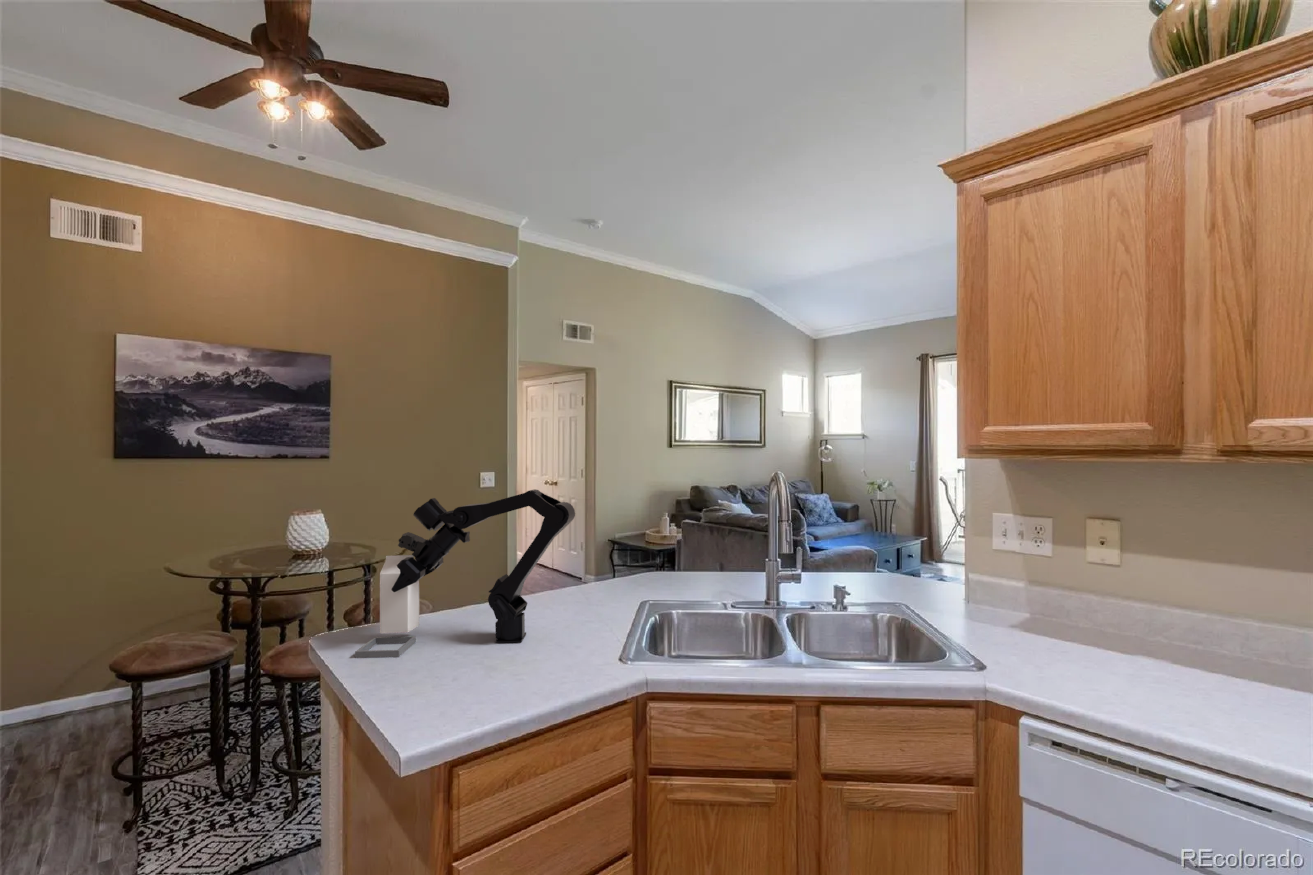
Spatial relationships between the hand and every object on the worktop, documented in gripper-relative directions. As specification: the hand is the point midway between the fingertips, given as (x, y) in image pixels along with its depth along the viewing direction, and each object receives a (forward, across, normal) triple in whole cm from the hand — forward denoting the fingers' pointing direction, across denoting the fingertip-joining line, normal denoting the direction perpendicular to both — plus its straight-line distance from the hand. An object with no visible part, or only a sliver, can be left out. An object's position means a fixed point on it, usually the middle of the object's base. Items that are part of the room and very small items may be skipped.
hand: (398, 587), depth 149 cm
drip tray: (+9, +8, +9) cm, 16 cm away
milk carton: (+8, +1, +8) cm, 11 cm away
